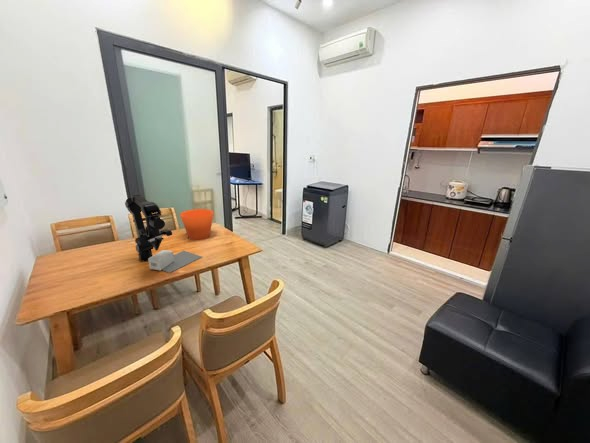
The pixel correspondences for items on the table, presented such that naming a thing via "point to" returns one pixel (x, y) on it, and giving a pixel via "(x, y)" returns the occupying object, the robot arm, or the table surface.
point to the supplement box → (161, 260)
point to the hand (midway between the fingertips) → (156, 250)
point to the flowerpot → (197, 223)
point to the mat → (181, 261)
